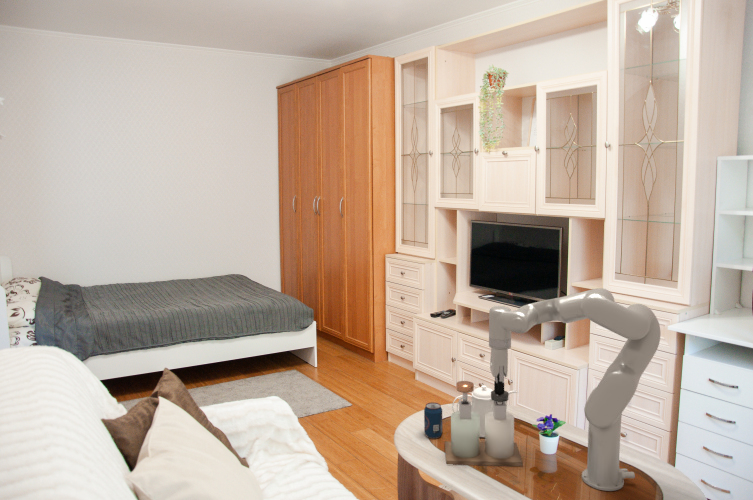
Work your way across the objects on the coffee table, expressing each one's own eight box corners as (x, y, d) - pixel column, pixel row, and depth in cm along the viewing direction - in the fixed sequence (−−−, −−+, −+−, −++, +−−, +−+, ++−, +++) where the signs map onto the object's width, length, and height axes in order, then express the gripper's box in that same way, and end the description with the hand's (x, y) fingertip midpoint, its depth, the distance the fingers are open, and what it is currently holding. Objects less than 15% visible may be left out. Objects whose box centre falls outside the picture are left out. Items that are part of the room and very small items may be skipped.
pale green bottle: (477, 444, 203) (478, 397, 201) (480, 458, 194) (480, 409, 191) (450, 444, 204) (450, 397, 202) (451, 457, 194) (451, 408, 192)
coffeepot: (520, 439, 209) (520, 391, 207) (453, 438, 212) (452, 390, 209) (515, 426, 220) (516, 381, 218) (452, 425, 223) (451, 380, 220)
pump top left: (506, 410, 199) (507, 389, 198) (509, 417, 193) (509, 396, 192) (489, 410, 199) (490, 389, 198) (491, 417, 193) (492, 396, 192)
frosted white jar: (511, 445, 202) (511, 397, 200) (515, 459, 192) (516, 409, 190) (483, 444, 203) (483, 397, 201) (486, 458, 193) (486, 409, 191)
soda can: (422, 431, 218) (421, 402, 216) (439, 430, 219) (439, 400, 217) (427, 440, 211) (427, 410, 209) (444, 438, 212) (444, 408, 210)
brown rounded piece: (472, 401, 199) (472, 380, 198) (474, 408, 193) (474, 387, 192) (456, 401, 200) (455, 380, 199) (457, 408, 194) (456, 387, 193)
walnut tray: (516, 446, 204) (516, 442, 204) (522, 466, 191) (522, 462, 190) (444, 445, 207) (444, 441, 206) (446, 464, 193) (446, 460, 193)
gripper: (486, 335, 200) (485, 384, 203) (491, 349, 185) (490, 401, 188) (507, 336, 199) (506, 385, 202) (514, 349, 185) (513, 401, 187)
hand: (499, 392), depth 195 cm, fingers closed
